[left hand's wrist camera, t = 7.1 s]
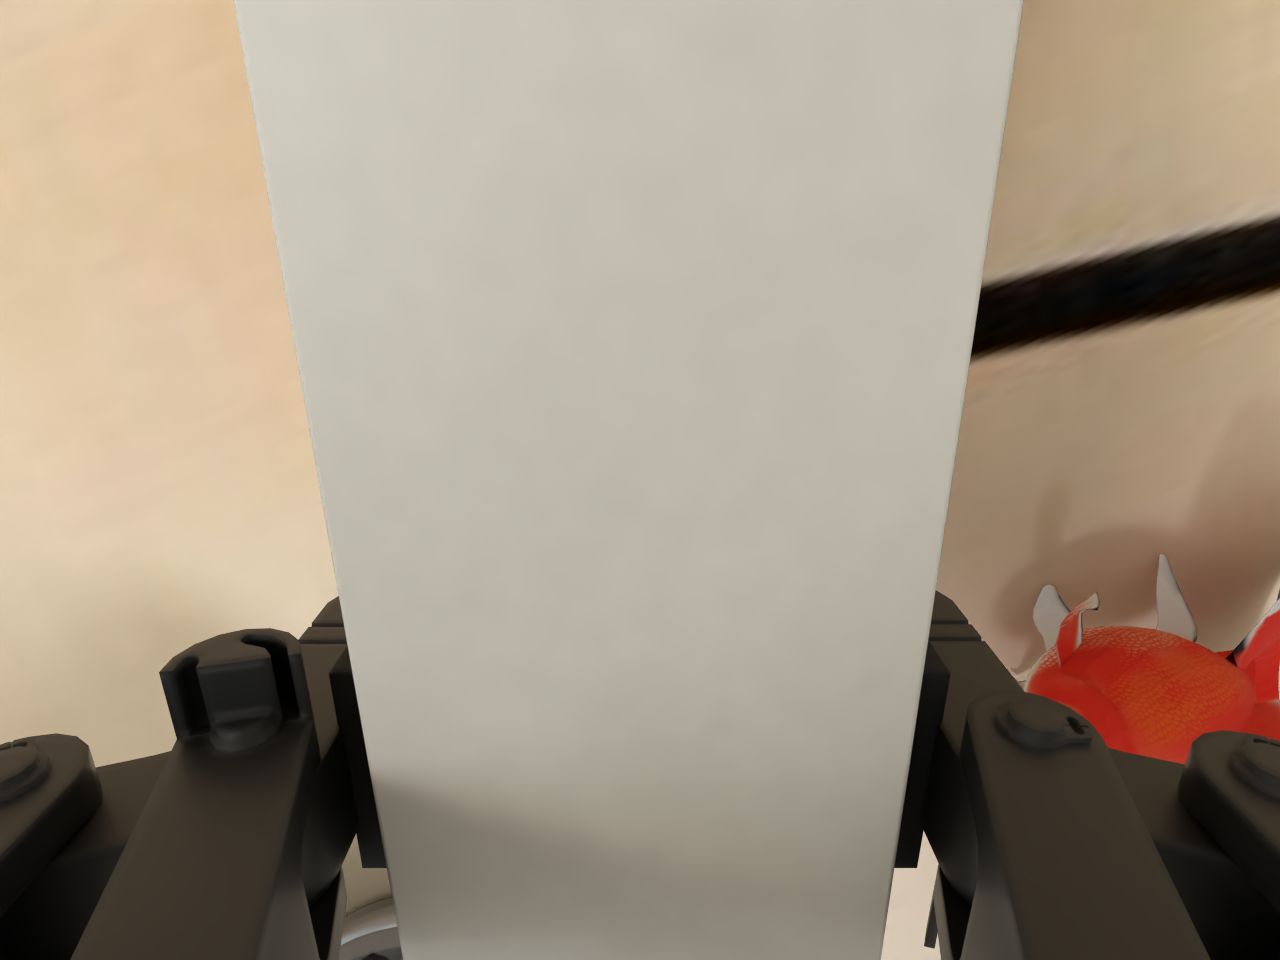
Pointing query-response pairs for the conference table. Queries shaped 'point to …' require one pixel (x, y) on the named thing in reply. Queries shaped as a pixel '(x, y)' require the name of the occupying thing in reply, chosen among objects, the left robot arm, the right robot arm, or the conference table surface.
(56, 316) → the conference table surface
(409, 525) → the beam
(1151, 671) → the fish
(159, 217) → the conference table surface
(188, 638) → the conference table surface
